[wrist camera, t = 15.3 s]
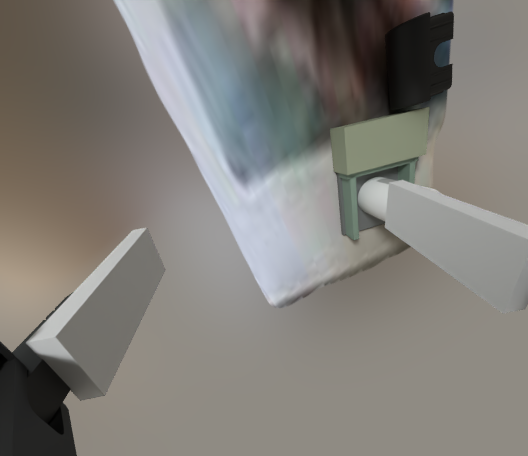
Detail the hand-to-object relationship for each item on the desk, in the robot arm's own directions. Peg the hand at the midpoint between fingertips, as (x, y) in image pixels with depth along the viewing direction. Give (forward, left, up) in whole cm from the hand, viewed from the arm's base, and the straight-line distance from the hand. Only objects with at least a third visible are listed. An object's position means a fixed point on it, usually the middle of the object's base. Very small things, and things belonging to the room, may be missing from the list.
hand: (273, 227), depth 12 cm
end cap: (-9, +29, -26) cm, 40 cm away
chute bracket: (+7, +24, -26) cm, 36 cm away
